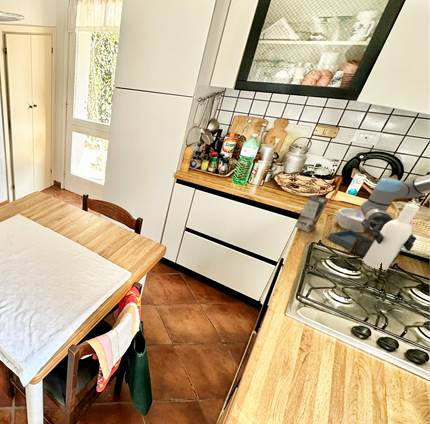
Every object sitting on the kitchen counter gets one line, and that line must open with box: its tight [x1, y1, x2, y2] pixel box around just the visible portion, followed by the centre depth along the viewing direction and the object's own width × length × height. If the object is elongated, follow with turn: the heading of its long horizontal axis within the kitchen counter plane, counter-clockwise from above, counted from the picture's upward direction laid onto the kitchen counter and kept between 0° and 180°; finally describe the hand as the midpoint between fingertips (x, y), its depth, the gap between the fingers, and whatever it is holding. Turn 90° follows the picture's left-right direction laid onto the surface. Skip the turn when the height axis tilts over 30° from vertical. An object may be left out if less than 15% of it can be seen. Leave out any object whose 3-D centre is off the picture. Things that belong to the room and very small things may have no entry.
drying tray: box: [327, 229, 375, 251], centre depth 144 cm, size 14×14×3 cm
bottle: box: [363, 203, 420, 271], centre depth 122 cm, size 8×8×30 cm
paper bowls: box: [334, 207, 373, 233], centre depth 156 cm, size 15×15×8 cm
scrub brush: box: [347, 237, 403, 268], centre depth 132 cm, size 14×3×9 cm, turn 58°
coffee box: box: [294, 195, 329, 233], centre depth 154 cm, size 9×6×16 cm
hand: (395, 244), depth 118 cm, fingers closed on bottle, 8 cm apart
